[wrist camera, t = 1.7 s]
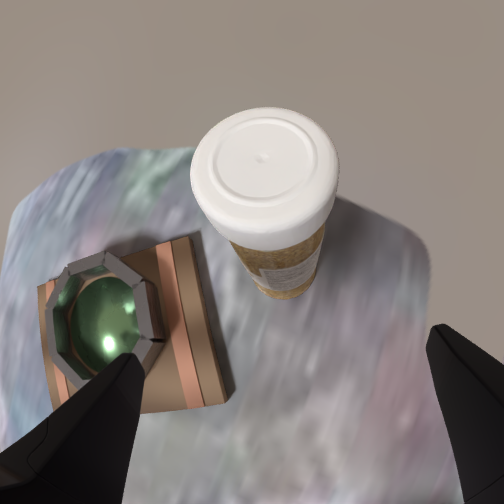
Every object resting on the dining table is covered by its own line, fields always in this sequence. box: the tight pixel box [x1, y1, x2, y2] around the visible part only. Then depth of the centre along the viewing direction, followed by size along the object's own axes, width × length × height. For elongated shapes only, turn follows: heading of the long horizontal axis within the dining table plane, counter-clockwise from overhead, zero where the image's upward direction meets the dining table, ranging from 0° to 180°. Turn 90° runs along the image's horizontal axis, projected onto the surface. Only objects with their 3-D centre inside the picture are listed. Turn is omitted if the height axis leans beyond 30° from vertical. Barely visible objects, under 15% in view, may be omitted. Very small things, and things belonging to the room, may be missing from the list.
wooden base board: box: [37, 236, 228, 414], centre depth 21 cm, size 12×16×1 cm
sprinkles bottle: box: [190, 107, 339, 299], centre depth 15 cm, size 5×5×14 cm
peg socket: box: [45, 251, 167, 390], centre depth 20 cm, size 10×10×2 cm
